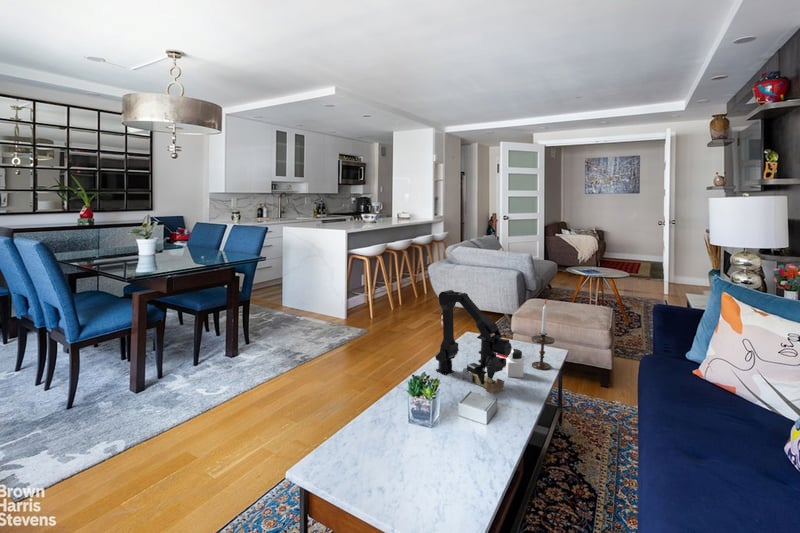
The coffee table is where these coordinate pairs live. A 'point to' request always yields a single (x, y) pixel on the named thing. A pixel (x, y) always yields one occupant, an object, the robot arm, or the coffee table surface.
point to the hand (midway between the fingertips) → (485, 383)
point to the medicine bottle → (514, 364)
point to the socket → (495, 386)
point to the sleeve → (467, 375)
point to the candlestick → (542, 343)
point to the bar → (486, 379)
